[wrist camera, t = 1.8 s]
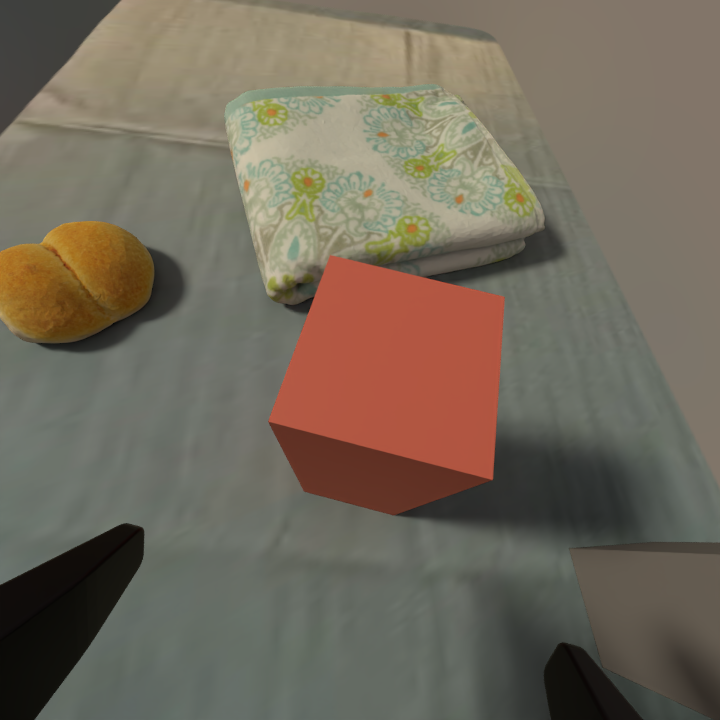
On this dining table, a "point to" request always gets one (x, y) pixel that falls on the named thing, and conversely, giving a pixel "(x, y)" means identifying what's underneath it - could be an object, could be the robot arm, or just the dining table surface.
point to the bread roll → (73, 282)
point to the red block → (391, 389)
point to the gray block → (657, 616)
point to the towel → (372, 183)
